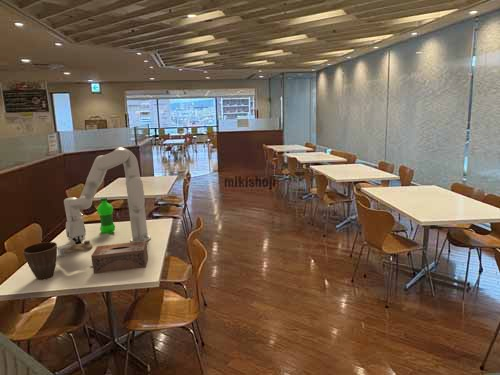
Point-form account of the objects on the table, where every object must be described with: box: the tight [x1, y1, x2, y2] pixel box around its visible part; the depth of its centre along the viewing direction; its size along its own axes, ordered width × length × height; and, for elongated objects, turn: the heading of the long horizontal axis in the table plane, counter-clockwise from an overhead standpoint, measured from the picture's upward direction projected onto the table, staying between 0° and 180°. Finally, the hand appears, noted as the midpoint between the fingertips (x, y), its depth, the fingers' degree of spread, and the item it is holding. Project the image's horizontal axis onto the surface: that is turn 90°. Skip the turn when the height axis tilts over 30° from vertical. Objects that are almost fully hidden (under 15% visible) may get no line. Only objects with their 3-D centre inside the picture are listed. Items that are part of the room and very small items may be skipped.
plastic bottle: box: [96, 196, 116, 235], centre depth 250 cm, size 10×10×25 cm
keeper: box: [57, 243, 70, 258], centre depth 212 cm, size 5×6×6 cm
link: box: [63, 240, 93, 253], centre depth 219 cm, size 16×5×4 cm, turn 107°
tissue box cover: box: [90, 241, 149, 275], centre depth 196 cm, size 26×14×10 cm, turn 101°
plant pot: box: [22, 241, 58, 281], centre depth 186 cm, size 15×15×16 cm
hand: (79, 247), depth 223 cm, fingers closed
